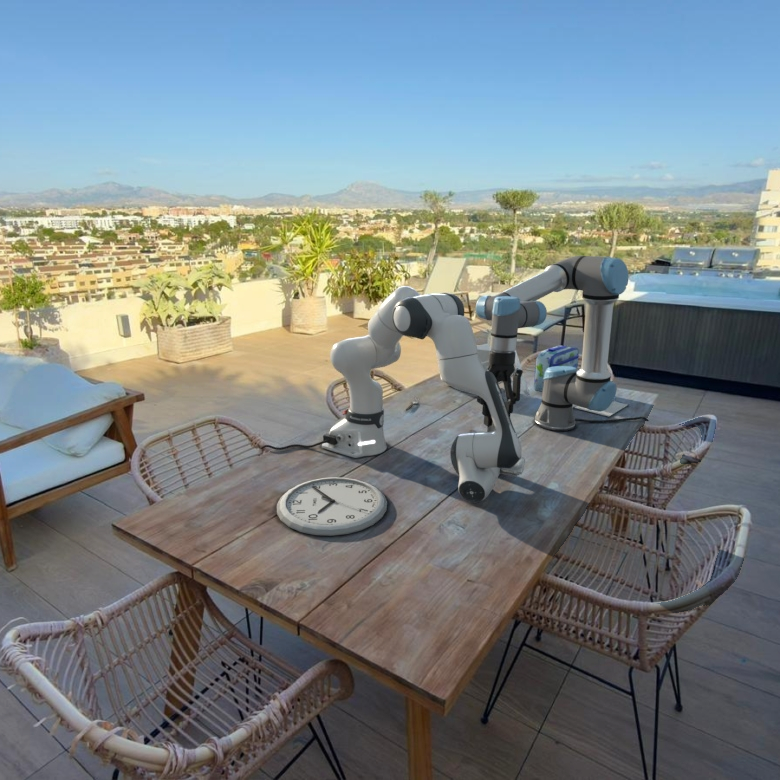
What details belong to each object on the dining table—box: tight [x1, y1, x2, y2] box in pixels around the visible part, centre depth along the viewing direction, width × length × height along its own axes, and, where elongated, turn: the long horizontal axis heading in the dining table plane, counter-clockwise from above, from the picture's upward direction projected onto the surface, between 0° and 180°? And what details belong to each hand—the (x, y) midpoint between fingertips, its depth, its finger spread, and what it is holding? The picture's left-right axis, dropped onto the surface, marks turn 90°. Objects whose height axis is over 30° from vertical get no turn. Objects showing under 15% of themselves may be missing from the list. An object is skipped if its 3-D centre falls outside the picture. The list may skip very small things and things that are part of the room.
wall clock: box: [276, 476, 388, 537], centre depth 142 cm, size 30×2×30 cm
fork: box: [405, 396, 421, 411], centre depth 222 cm, size 3×16×2 cm, turn 160°
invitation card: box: [573, 400, 629, 418], centre depth 226 cm, size 21×1×15 cm
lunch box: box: [533, 345, 580, 393], centre depth 245 cm, size 26×11×21 cm, turn 135°
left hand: (494, 450), depth 163 cm, fingers closed on jar, 5 cm apart
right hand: (496, 424), depth 160 cm, fingers closed on lid, 6 cm apart
